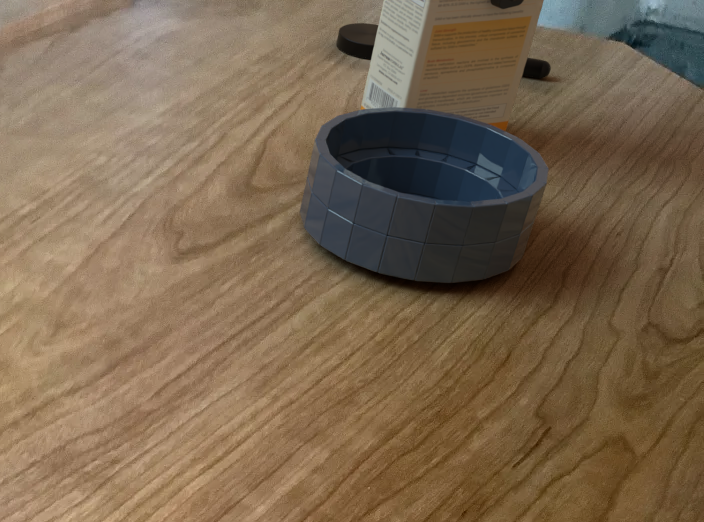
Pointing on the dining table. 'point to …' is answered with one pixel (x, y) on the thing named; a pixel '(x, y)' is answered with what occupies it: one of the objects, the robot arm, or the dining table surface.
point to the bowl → (422, 194)
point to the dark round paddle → (362, 40)
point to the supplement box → (451, 57)
